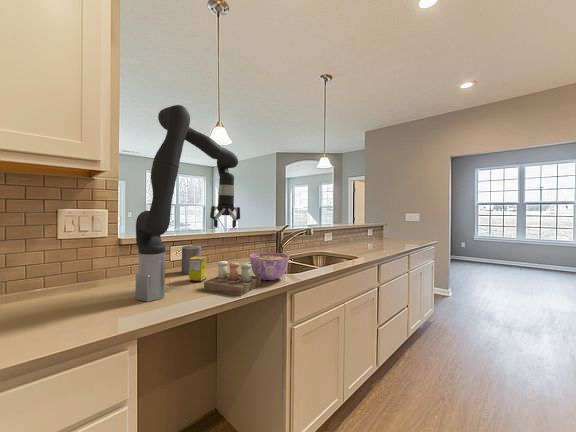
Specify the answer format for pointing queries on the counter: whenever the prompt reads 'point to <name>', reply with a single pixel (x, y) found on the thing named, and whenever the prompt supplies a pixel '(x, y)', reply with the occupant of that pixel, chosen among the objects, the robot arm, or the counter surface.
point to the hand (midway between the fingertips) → (225, 227)
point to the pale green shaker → (246, 272)
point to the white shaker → (222, 269)
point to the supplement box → (197, 269)
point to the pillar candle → (189, 256)
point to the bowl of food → (269, 265)
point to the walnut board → (232, 285)
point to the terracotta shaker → (234, 270)
